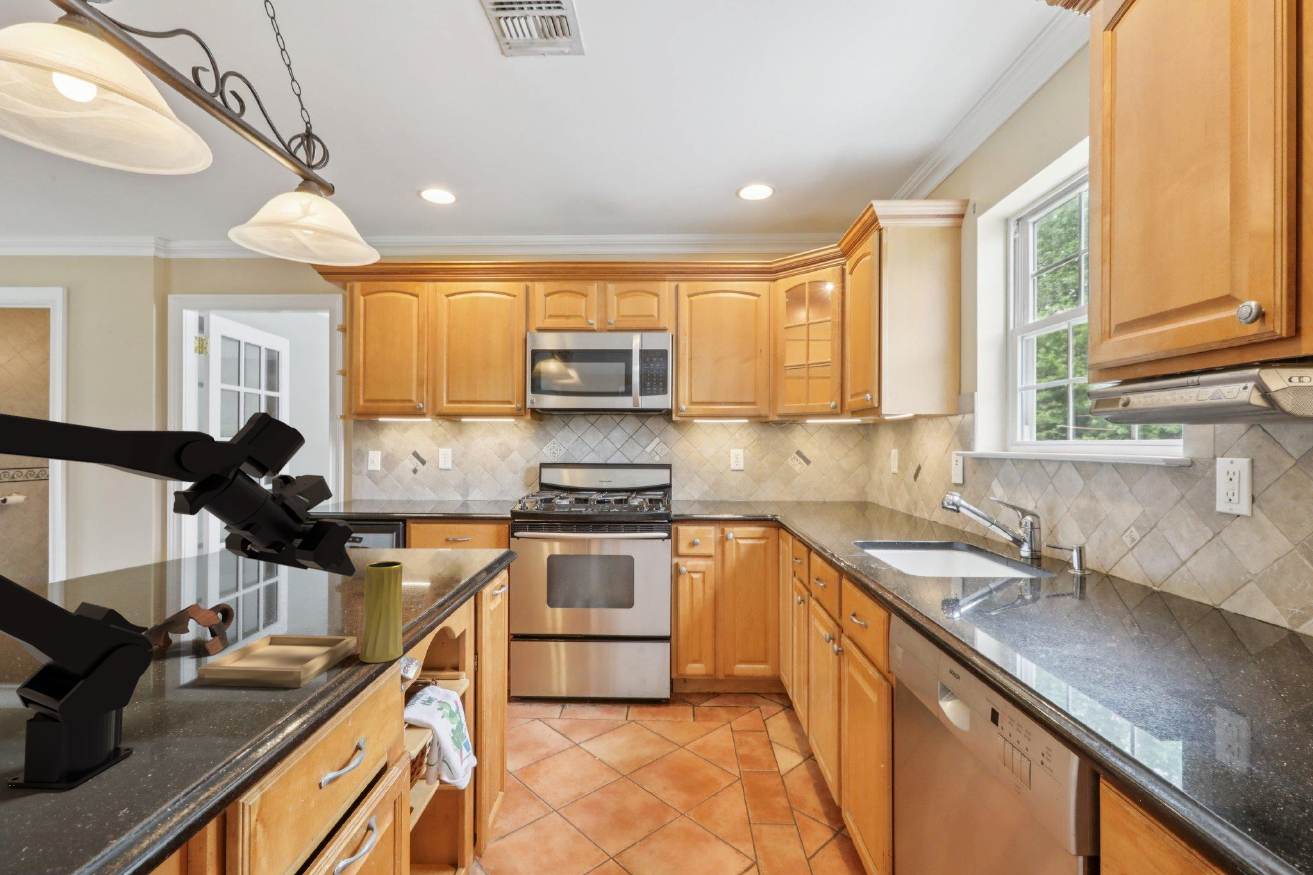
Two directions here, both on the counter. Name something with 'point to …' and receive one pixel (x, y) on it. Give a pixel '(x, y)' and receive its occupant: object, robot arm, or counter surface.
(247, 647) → the maple tray
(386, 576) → the vase
